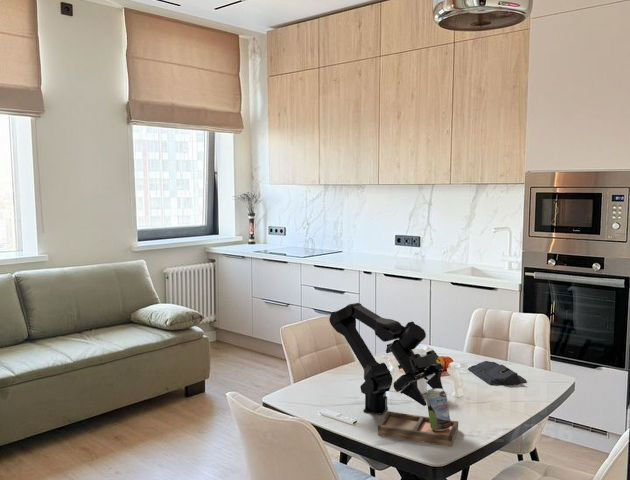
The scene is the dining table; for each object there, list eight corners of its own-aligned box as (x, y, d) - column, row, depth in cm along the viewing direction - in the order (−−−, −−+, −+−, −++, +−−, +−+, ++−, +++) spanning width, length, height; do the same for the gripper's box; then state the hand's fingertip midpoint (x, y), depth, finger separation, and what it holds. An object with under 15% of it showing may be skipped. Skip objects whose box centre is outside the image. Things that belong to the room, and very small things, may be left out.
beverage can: (445, 435, 169) (445, 394, 168) (422, 429, 173) (421, 390, 172) (454, 428, 174) (453, 388, 173) (432, 423, 178) (431, 384, 177)
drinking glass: (424, 396, 204) (425, 355, 203) (407, 392, 208) (407, 352, 206) (431, 390, 210) (432, 350, 209) (414, 387, 214) (414, 347, 212)
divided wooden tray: (377, 434, 174) (377, 425, 173) (388, 419, 185) (388, 411, 184) (451, 446, 165) (451, 437, 165) (458, 430, 176) (458, 421, 176)
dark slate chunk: (498, 366, 238) (499, 355, 237) (529, 384, 216) (529, 372, 216) (464, 369, 235) (464, 358, 234) (492, 388, 213) (492, 375, 213)
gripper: (401, 349, 168) (432, 395, 161) (439, 337, 181) (469, 380, 174) (380, 369, 175) (409, 414, 168) (418, 356, 187) (446, 398, 180)
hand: (434, 401), depth 172 cm, fingers open, 9 cm apart
